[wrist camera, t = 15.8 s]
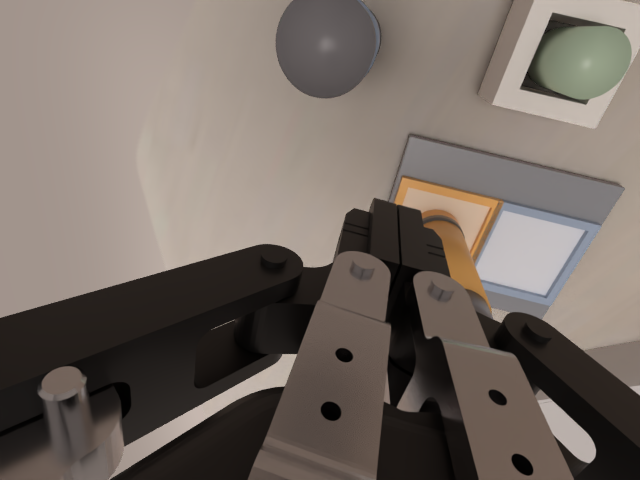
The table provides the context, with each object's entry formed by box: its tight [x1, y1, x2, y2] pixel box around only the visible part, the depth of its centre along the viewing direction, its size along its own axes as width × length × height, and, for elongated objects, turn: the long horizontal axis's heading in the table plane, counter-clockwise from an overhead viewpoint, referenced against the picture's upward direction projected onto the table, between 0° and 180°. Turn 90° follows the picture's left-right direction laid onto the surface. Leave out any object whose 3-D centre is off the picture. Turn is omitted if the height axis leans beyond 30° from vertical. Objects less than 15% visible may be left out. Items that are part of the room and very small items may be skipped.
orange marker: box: [421, 210, 493, 319], centre depth 24 cm, size 4×4×13 cm
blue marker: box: [276, 0, 381, 98], centre depth 20 cm, size 4×4×13 cm
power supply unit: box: [535, 341, 640, 463], centre depth 38 cm, size 19×33×5 cm, turn 113°
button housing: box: [478, 0, 640, 129], centre depth 23 cm, size 6×6×4 cm
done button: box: [528, 26, 632, 100], centre depth 20 cm, size 3×3×4 cm
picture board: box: [388, 134, 625, 320], centre depth 30 cm, size 12×15×1 cm
